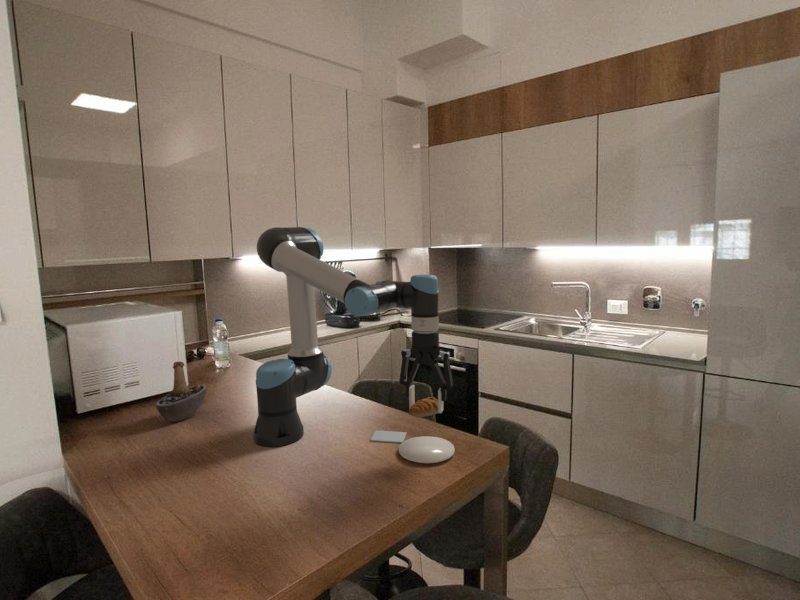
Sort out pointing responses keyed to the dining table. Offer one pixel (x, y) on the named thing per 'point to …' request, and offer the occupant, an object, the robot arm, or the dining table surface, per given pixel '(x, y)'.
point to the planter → (181, 398)
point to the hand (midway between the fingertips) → (426, 409)
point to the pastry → (424, 407)
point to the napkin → (388, 436)
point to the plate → (426, 449)
